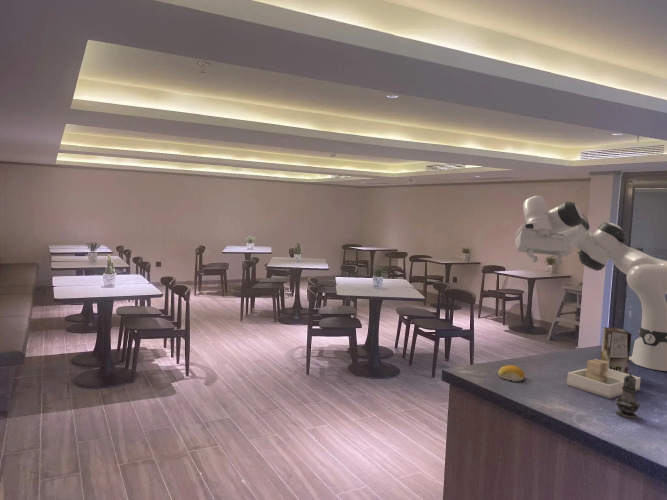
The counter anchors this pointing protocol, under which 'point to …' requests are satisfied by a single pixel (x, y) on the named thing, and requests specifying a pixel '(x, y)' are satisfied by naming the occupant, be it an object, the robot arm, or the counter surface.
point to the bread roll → (511, 373)
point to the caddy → (600, 383)
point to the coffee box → (616, 348)
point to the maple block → (597, 370)
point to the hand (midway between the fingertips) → (547, 262)
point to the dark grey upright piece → (628, 399)
